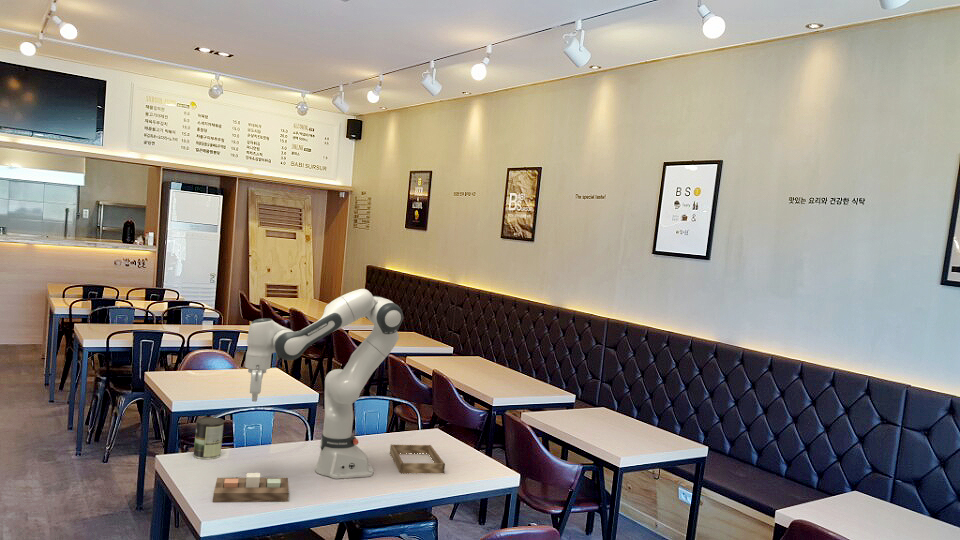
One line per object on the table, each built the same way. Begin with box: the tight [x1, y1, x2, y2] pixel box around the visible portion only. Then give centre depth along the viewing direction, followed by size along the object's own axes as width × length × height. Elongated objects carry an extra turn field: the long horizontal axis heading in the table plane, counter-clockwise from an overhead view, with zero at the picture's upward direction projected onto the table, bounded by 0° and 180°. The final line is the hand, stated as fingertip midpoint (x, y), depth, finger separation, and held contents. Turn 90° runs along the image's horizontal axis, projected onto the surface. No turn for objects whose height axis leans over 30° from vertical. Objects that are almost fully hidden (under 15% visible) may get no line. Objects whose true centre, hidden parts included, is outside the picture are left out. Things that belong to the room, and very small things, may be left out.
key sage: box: [267, 479, 281, 488], centre depth 238 cm, size 4×4×4 cm
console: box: [212, 477, 290, 503], centre depth 236 cm, size 24×15×3 cm, turn 107°
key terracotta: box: [224, 479, 238, 488], centre depth 233 cm, size 4×4×4 cm
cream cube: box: [245, 472, 261, 488], centre depth 236 cm, size 4×4×4 cm
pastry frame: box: [389, 444, 446, 475], centre depth 287 cm, size 18×26×4 cm
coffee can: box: [192, 416, 225, 460], centre depth 270 cm, size 10×10×14 cm
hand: (254, 400), depth 248 cm, fingers closed
